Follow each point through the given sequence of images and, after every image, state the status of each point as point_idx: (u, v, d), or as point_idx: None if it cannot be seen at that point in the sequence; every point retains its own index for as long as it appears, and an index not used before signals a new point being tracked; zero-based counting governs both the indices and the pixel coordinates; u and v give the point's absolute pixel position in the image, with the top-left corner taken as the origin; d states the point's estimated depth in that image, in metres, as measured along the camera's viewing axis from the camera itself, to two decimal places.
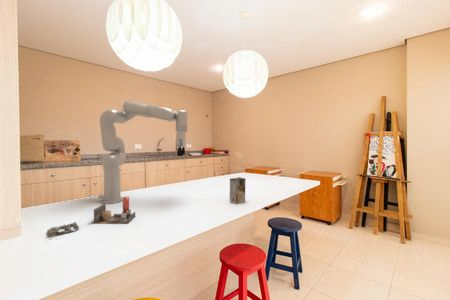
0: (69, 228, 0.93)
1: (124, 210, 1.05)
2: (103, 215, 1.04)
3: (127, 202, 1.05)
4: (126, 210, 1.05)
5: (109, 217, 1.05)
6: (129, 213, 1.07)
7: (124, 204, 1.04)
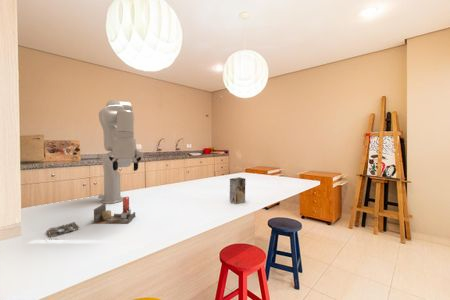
0: (69, 228, 0.94)
1: (124, 210, 1.05)
2: (103, 215, 1.04)
3: (127, 202, 1.05)
4: (126, 210, 1.05)
5: (109, 217, 1.05)
6: (129, 213, 1.07)
7: (124, 204, 1.04)
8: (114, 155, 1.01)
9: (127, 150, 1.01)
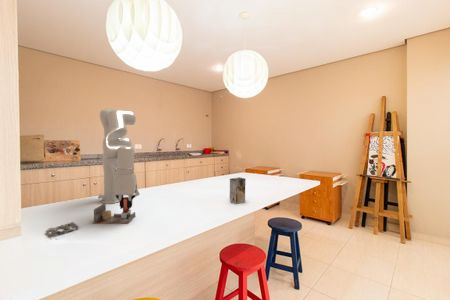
0: (68, 228, 0.94)
1: (124, 210, 1.05)
2: (103, 215, 1.04)
3: (127, 202, 1.05)
4: (126, 210, 1.05)
5: (109, 217, 1.05)
6: (129, 213, 1.07)
7: (124, 204, 1.04)
8: (115, 192, 1.02)
9: (127, 187, 1.02)
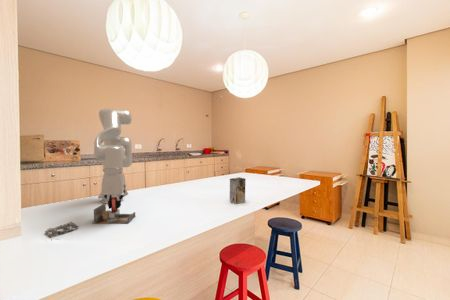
0: (68, 227, 0.94)
1: (112, 210, 1.04)
2: (103, 215, 1.04)
3: (115, 202, 1.05)
4: (114, 210, 1.04)
5: None
6: (118, 213, 1.07)
7: (112, 204, 1.04)
8: (103, 191, 1.02)
9: (116, 186, 1.02)
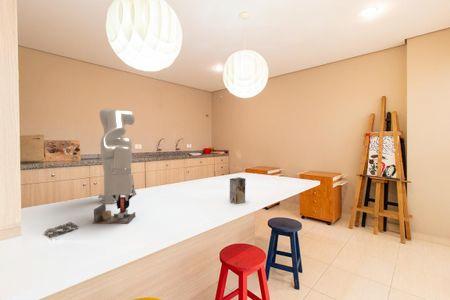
0: (68, 227, 0.94)
1: (121, 210, 1.04)
2: (103, 215, 1.04)
3: (124, 202, 1.05)
4: (123, 210, 1.05)
5: (109, 217, 1.05)
6: (126, 213, 1.07)
7: (121, 204, 1.04)
8: (111, 191, 1.02)
9: (124, 187, 1.02)
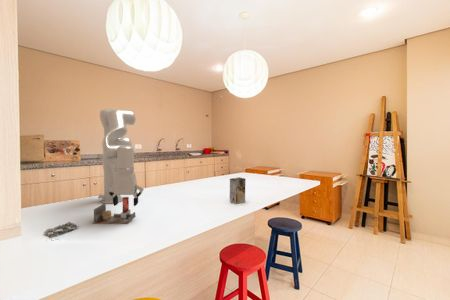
0: (67, 227, 0.94)
1: (124, 210, 1.05)
2: (103, 215, 1.04)
3: (127, 202, 1.05)
4: (126, 210, 1.05)
5: (109, 217, 1.05)
6: (129, 213, 1.07)
7: (124, 204, 1.04)
8: (114, 191, 1.02)
9: (127, 186, 1.02)
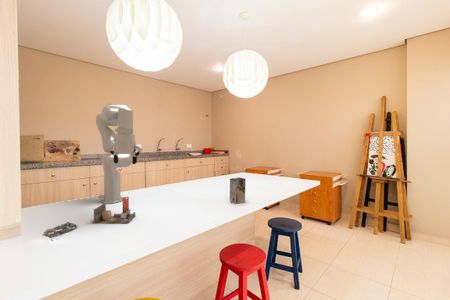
0: (67, 227, 0.94)
1: (124, 210, 1.05)
2: (103, 215, 1.04)
3: (127, 202, 1.05)
4: (126, 210, 1.05)
5: (109, 217, 1.05)
6: (129, 213, 1.07)
7: (124, 204, 1.04)
8: (115, 149, 1.11)
9: (127, 145, 1.11)
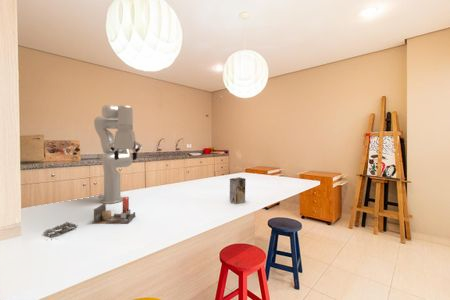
0: (67, 227, 0.94)
1: (124, 210, 1.05)
2: (103, 215, 1.04)
3: (127, 202, 1.05)
4: (126, 210, 1.05)
5: (109, 217, 1.05)
6: (129, 213, 1.07)
7: (124, 204, 1.04)
8: (115, 146, 1.14)
9: (127, 141, 1.14)
